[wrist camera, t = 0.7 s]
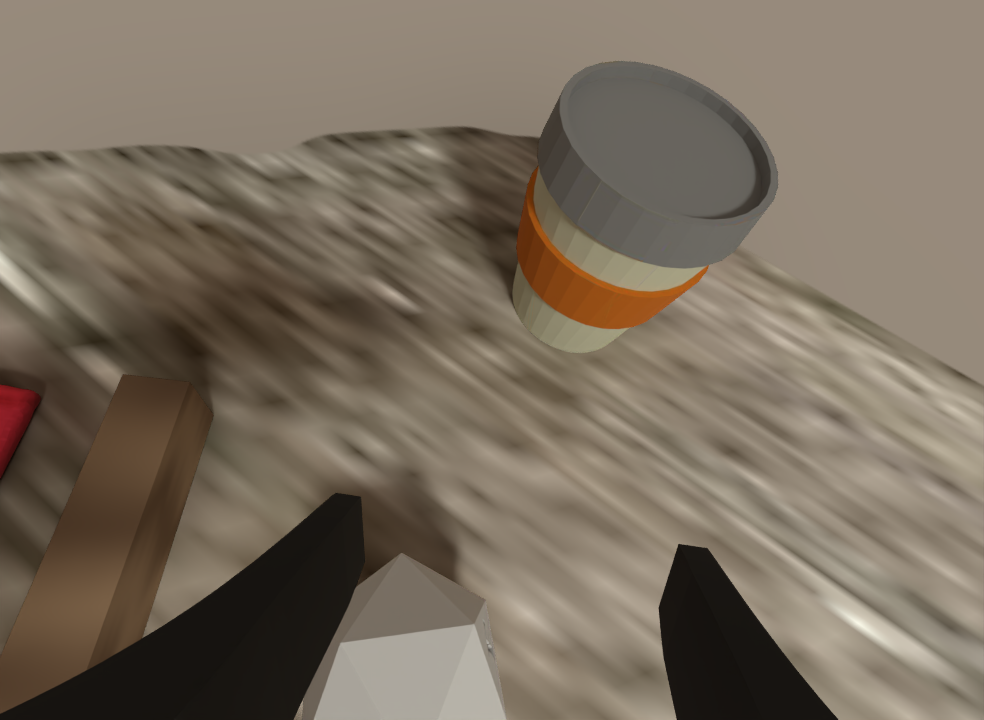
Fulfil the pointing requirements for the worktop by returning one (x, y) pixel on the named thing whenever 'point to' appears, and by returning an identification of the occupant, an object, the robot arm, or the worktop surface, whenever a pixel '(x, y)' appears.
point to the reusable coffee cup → (632, 201)
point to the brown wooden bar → (109, 539)
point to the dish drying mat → (14, 419)
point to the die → (409, 653)
